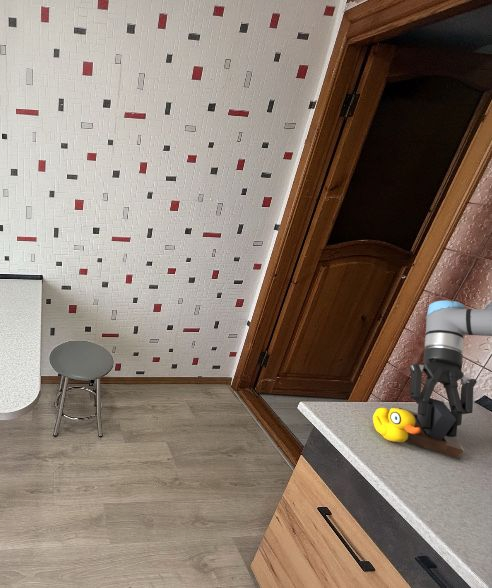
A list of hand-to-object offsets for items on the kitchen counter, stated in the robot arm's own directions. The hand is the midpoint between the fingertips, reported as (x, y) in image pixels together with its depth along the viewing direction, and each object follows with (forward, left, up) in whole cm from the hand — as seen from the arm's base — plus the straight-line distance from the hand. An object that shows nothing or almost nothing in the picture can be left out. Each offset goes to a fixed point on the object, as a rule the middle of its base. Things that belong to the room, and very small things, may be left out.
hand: (438, 431), depth 88 cm
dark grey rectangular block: (+1, -4, -5) cm, 6 cm away
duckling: (+9, +6, -5) cm, 12 cm away
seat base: (+1, -4, -5) cm, 6 cm away
